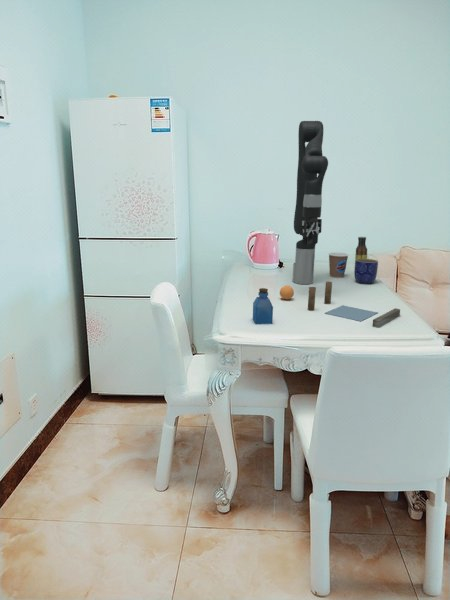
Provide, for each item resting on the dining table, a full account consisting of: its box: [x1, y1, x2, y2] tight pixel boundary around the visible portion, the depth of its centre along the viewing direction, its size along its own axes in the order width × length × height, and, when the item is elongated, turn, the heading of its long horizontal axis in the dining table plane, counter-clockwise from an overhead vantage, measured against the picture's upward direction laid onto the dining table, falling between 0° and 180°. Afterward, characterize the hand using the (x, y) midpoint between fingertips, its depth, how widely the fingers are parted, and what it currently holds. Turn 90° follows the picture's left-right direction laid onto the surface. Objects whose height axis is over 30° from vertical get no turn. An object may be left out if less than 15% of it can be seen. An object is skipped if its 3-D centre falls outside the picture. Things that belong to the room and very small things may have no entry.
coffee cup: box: [328, 252, 349, 279], centre depth 243 cm, size 10×10×12 cm
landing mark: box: [324, 304, 379, 323], centre depth 179 cm, size 15×15×1 cm
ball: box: [279, 285, 295, 301], centre depth 197 cm, size 6×6×6 cm
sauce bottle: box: [354, 236, 368, 261], centre depth 251 cm, size 7×6×20 cm
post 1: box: [307, 286, 317, 311], centre depth 182 cm, size 3×3×9 cm
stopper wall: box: [372, 308, 401, 329], centre depth 170 cm, size 2×20×2 cm, turn 139°
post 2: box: [323, 281, 333, 305], centre depth 191 cm, size 3×3×9 cm
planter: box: [353, 258, 379, 285], centre depth 230 cm, size 11×11×11 cm
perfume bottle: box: [252, 287, 274, 325], centre depth 166 cm, size 6×6×12 cm
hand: (310, 244), depth 197 cm, fingers open, 8 cm apart
